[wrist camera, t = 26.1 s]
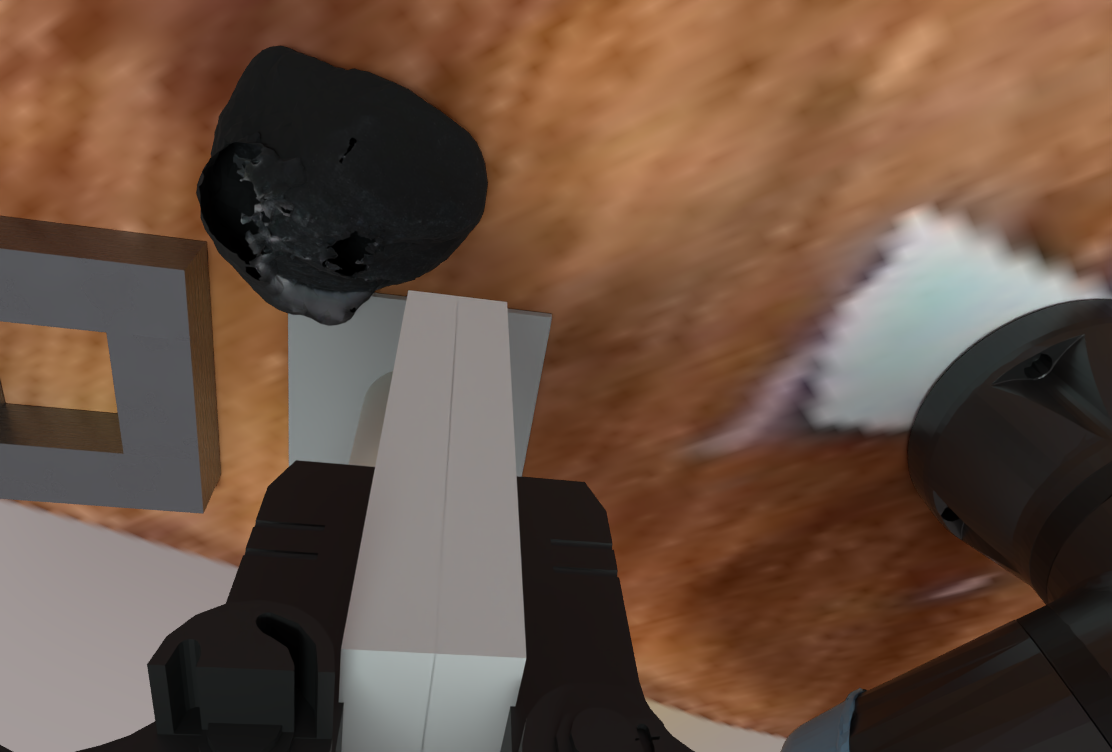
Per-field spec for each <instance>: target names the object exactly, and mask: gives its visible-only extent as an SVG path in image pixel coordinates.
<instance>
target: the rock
mask: <svg viewBox="0 0 1112 752" xmlns="http://www.w3.org/2000/svg"><path fill="white" fill-rule="evenodd" d="M487 185H488V181H487V174H486V167H485V162H484V159H483V156H482V152H481V150H480V148H479V146H478V144H477V142H476V141H475V140H474V139H473V137H472V136H471V135H470V134H469V132H467V131H466V130H465V129H463V128H462V127H461V126H459V125H458V124H457V123H455V122H454V121H453V120H452V119H450V118H449V117H448V116H446V115H445V114H444V113H442V112H441V111H440V110H438V109H436V108H435V107H433V106H432V105H430V104H428V103H427V102H426V101H424V100H423V99H422V98H420V97H418V96H417V95H416V94H414V93H413V92H412V91H410V90H409V89H407V88H405V87H402V86H400V85H398V84H396V83H394V82H391V81H389V80H386V79H384V78H382V77H379V76H377V75H375V74H372V73H370V72H366V71H360V70H357V69H351V70H345V69H343V68H336V67H334V66H332V65H330V64H328V63H326V62H323V61H320V60H318V59H316V58H314V57H310V56H307V55H305V54H303V53H299V52H296V51H294V50H293V49H290V48H287V47H284V46H273V47H269V48H267V49H265V50H262V51H261V52H260V53H259V54H258V55H256V56H255V57H254V58H253V59H252V61H251V62H250V63H249V65H248V66H247V68H246V69H245V71H244V73H243V74H242V76H241V78H240V79H239V81H238V83H237V86H236V88H235V90H234V92H233V94H232V96H231V98H230V100H229V102H228V104H227V105H226V106H225V108H224V109H223V111H222V112H221V114H220V116H219V120H218V125H217V127H216V130H215V138H214V142H213V146H212V151H211V158H210V160H209V162H208V163H207V164H206V166H205V167H204V169H203V171H202V174H201V176H200V178H199V181H198V184H197V192H196V194H197V197H198V200H199V203H200V207H201V220H202V222H203V225H204V228H205V230H206V232H207V233H208V234H209V236H210V237H211V239H212V240H213V241H214V244H215V246H216V248H217V250H218V252H219V254H220V255H221V256H222V257H223V258H224V259H225V260H226V261H227V262H229V263H230V264H231V265H232V266H233V267H234V268H235V269H236V271H237V272H238V273H239V274H240V275H241V276H242V278H243V279H244V280H245V281H246V282H247V283H248V284H249V285H250V286H251V287H252V288H253V290H254V291H255V292H257V293H258V294H259V295H260V296H261V297H262V298H263V299H264V300H265V301H266V302H267V303H268V304H270V305H272V306H273V307H275V308H277V309H278V310H281V311H283V312H286V313H289V314H292V315H303V316H306V317H308V318H311V319H313V320H315V321H316V322H318V323H320V324H323V325H327V326H333V325H339V324H343V323H346V322H347V321H348V320H351V318H352V317H353V316H354V314H355V312H356V311H357V309H358V308H359V307H360V306H361V305H362V304H363V303H365V302H366V301H368V300H369V299H370V297H371V296H372V294H373V293H374V292H375V291H376V290H378V289H381V288H383V287H386V286H390V285H398V284H401V283H404V282H408V281H412V280H415V278H417V277H420V276H422V275H423V274H425V273H427V272H429V271H431V270H433V269H434V268H436V267H437V266H438V265H439V264H440V263H442V262H443V261H445V260H447V258H448V257H449V256H450V255H451V254H452V253H453V252H454V251H455V250H456V249H457V248H458V247H459V246H460V244H461V243H462V242H463V241H464V240H465V238H466V237H467V236H468V234H469V233H470V232H471V231H472V230H473V229H474V228H475V226H476V225H477V224H478V223H479V221H480V219H481V217H482V215H483V212H484V208H485V201H486V193H487Z"/></svg>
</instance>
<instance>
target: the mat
mask: <svg viewBox="0 0 1112 752" xmlns="http://www.w3.org/2000/svg"><path fill="white" fill-rule="evenodd" d="M406 300H407V297H406V296H397V295H389V294H380V293H373V294H372V296H371V297H370V299H369V300H368V301H366V302H365V303H363V304H362V305H361V306H360V307H359V308H358V309H357V311H356V312H355V314H354V316H353V317H352V318H351V320H348V321H347V322H346V323H343V324H339V325H333V326H327V325H323V324H320V323H318V322H316V321H315V320H313V319H311V318H308V317H306V316H303V315H292V314H289V313H288V365H289V466H290V465H291V464H292V463H294V462H295V461H296V460H300V461H312V462H323V463H335V464H347V465H348V464H349V460H350V456H351V452H352V448H353V443H354V439H355V435H356V431H357V427H358V422H359V418H360V414H361V410H362V406H363V401H364V398H365V395H366V393H367V391H368V389H369V388H370V386H371V385H372V384H373V383H374V382H375V381H376V380H377V379H379V378H380V377H381V376H383V375H385V374H387V373H389V372H391V371H393V369H394V364H395V359H396V353H397V348H398V343H399V337H400V332H401V327H402V321H403V316H404V311H405V305H406ZM507 310H508V329H509V347H510V366H511V384H512V402H513V421H514V439H515V457H516V476H519V477H522V472H523V467H524V462H525V457H526V451H527V446H528V441H529V436H530V430H531V425H532V420H533V415H534V410H535V404H536V399H537V394H538V389H539V383H540V378H541V373H542V368H543V362H544V357H545V352H546V347H547V341H548V336H549V331H550V326H551V320H552V315H551V314H549V313H540V312H532V311H524V310H515V309H507Z"/></svg>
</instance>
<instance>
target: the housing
mask: <svg viewBox="0 0 1112 752" xmlns="http://www.w3.org/2000/svg"><path fill="white" fill-rule="evenodd" d="M0 321H3V322H12V323H22V324H31V325H41V326H50V327H60V328H69V329H79V330H88V331H98V332H107V339H108V346H109V354H110V361H111V368H112V375H113V382H114V389H115V396H116V403H117V411H118V414H115V413H104V412H93V411H82V410H71V409H60V408H49V407H38V406H27V405H16V404H5V401H4V396H3V392H2V387H1V383H0V499H13V500H27V501H41V502H54V503H68V504H81V505H95V506H109V507H122V508H136V509H149V510H163V511H177V512H190V513H204V511H205V509H206V507H207V504H208V502H209V500H210V498H211V495H212V493H213V491H214V489H215V486H216V484H217V482H218V480H219V478H220V475H221V468H220V451H219V435H218V419H217V403H216V386H215V370H214V354H213V338H212V321H211V305H210V289H209V272H208V256H207V242H205V241H197V240H189V239H181V238H173V237H165V236H157V235H149V234H141V233H133V232H125V231H117V230H109V229H101V228H93V227H85V226H77V225H69V224H61V223H53V222H45V221H37V220H29V219H21V218H13V217H5V216H0Z"/></svg>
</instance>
